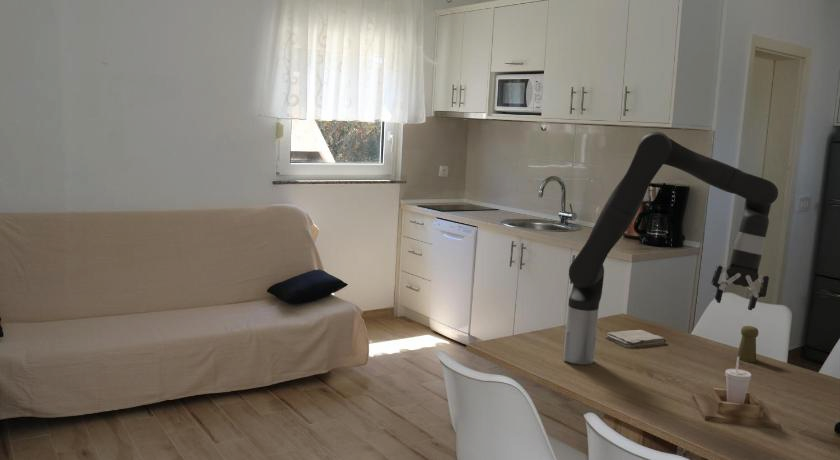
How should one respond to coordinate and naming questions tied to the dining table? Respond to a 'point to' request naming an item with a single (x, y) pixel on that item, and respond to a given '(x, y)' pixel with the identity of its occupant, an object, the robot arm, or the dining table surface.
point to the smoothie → (737, 384)
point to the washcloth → (635, 338)
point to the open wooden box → (734, 409)
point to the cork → (748, 344)
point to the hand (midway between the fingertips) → (733, 306)
